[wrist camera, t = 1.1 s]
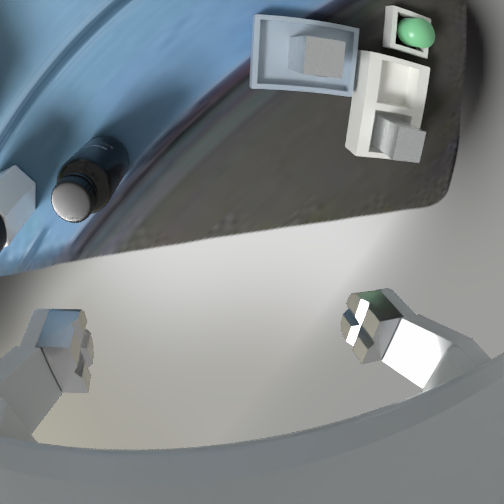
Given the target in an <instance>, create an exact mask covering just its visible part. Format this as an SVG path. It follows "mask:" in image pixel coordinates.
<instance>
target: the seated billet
mask: <svg viewBox="0 0 504 504" xmlns="http://www.w3.org/2000/svg"><path fill="white" fill-rule="evenodd" d="M425 136H426V132H425V131H423V130H422V129H420V128H418V127H416V126H414V125H412V124H411V123H409V122H407V121H405V120H403V119H401V118H399V117H397V116H392V115H386V114H380V113H375V117H374V123H373V129H372V135H371V140H370V143H371V144H372V145H374V146H375V147H376V148H378V149H379V150H380V151H382V152H383V153H384V154H386V155H387V156H388V157H390V158H391V159H392V160H399V161H408V162H416V163H419V161H420V157H421V153H422V149H423V145H424V140H425Z"/></svg>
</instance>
